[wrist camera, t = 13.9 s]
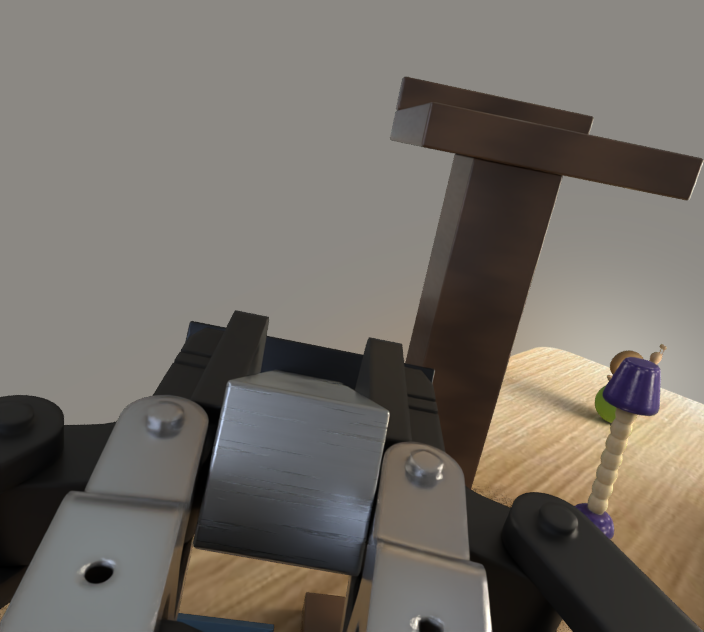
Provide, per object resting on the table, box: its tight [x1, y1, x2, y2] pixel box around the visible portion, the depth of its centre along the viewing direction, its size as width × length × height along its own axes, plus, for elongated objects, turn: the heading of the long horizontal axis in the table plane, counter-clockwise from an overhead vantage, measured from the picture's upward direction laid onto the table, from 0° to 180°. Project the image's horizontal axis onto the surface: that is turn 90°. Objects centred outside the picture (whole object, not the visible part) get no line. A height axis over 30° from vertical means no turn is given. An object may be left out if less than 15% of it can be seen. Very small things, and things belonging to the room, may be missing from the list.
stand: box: [301, 77, 703, 632], centre depth 30 cm, size 10×11×34 cm
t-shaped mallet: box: [186, 321, 435, 576], centre depth 15 cm, size 14×8×3 cm, turn 1°
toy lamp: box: [574, 357, 661, 539], centre depth 53 cm, size 5×5×17 cm
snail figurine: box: [595, 344, 667, 423], centre depth 79 cm, size 5×6×12 cm
